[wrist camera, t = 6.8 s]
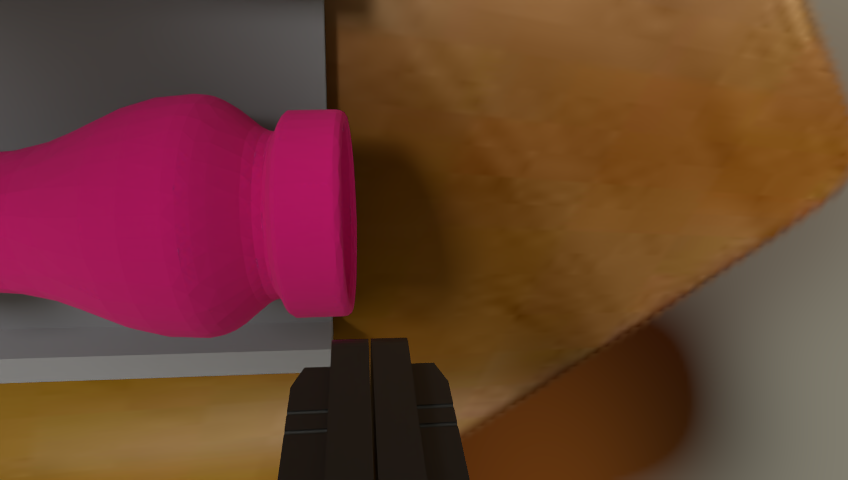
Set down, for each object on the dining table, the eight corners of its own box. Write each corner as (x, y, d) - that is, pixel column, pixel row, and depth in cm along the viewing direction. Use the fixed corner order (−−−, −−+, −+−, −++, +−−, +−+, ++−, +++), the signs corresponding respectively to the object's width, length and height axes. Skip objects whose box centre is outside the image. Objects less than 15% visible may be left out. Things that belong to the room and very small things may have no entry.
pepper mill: (346, 53, 17) (-340, 58, 15) (331, 180, 11) (-739, 203, 10) (360, 230, 21) (-167, 245, 20) (354, 382, 16) (-373, 414, 15)
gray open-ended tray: (-197, 348, 21) (-256, 392, 19) (-517, -137, 13) (-676, -152, 11) (332, 334, 24) (331, 371, 22) (322, -75, 16) (317, -77, 14)
